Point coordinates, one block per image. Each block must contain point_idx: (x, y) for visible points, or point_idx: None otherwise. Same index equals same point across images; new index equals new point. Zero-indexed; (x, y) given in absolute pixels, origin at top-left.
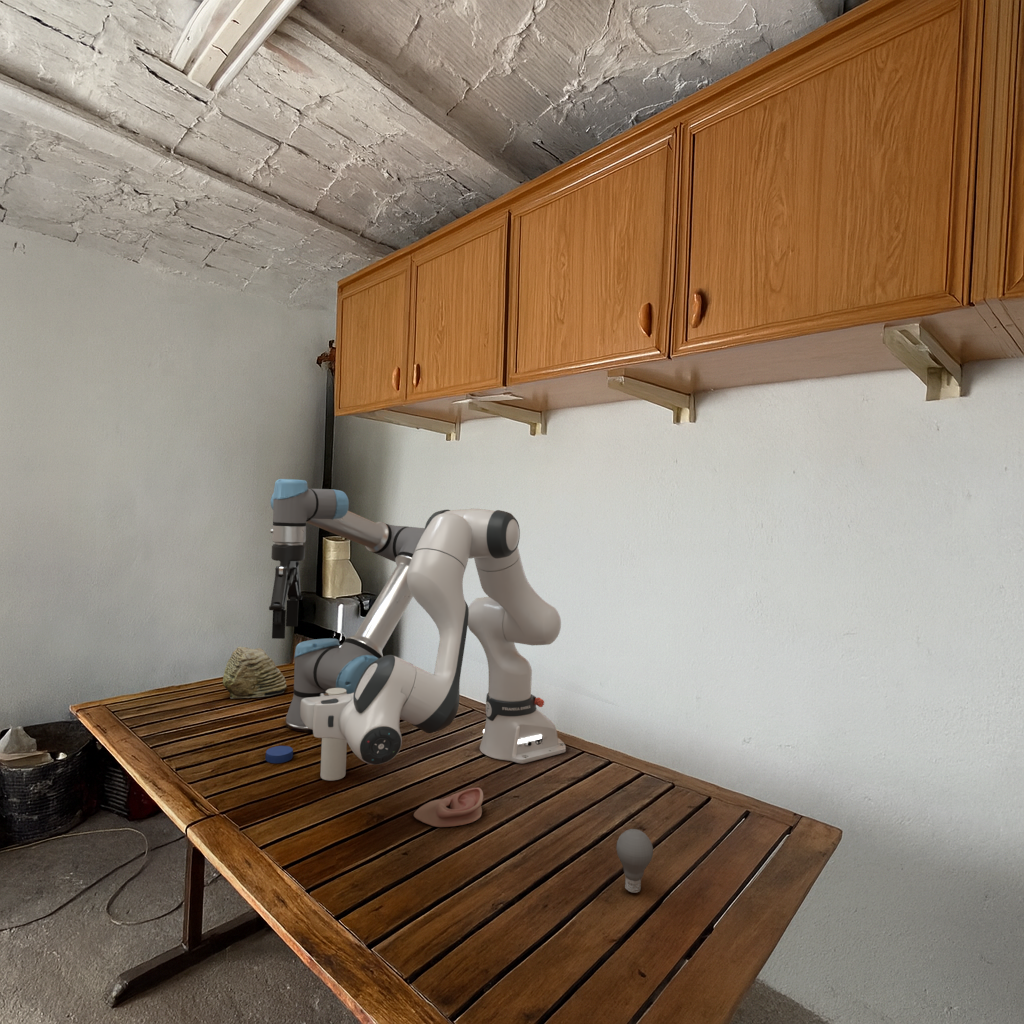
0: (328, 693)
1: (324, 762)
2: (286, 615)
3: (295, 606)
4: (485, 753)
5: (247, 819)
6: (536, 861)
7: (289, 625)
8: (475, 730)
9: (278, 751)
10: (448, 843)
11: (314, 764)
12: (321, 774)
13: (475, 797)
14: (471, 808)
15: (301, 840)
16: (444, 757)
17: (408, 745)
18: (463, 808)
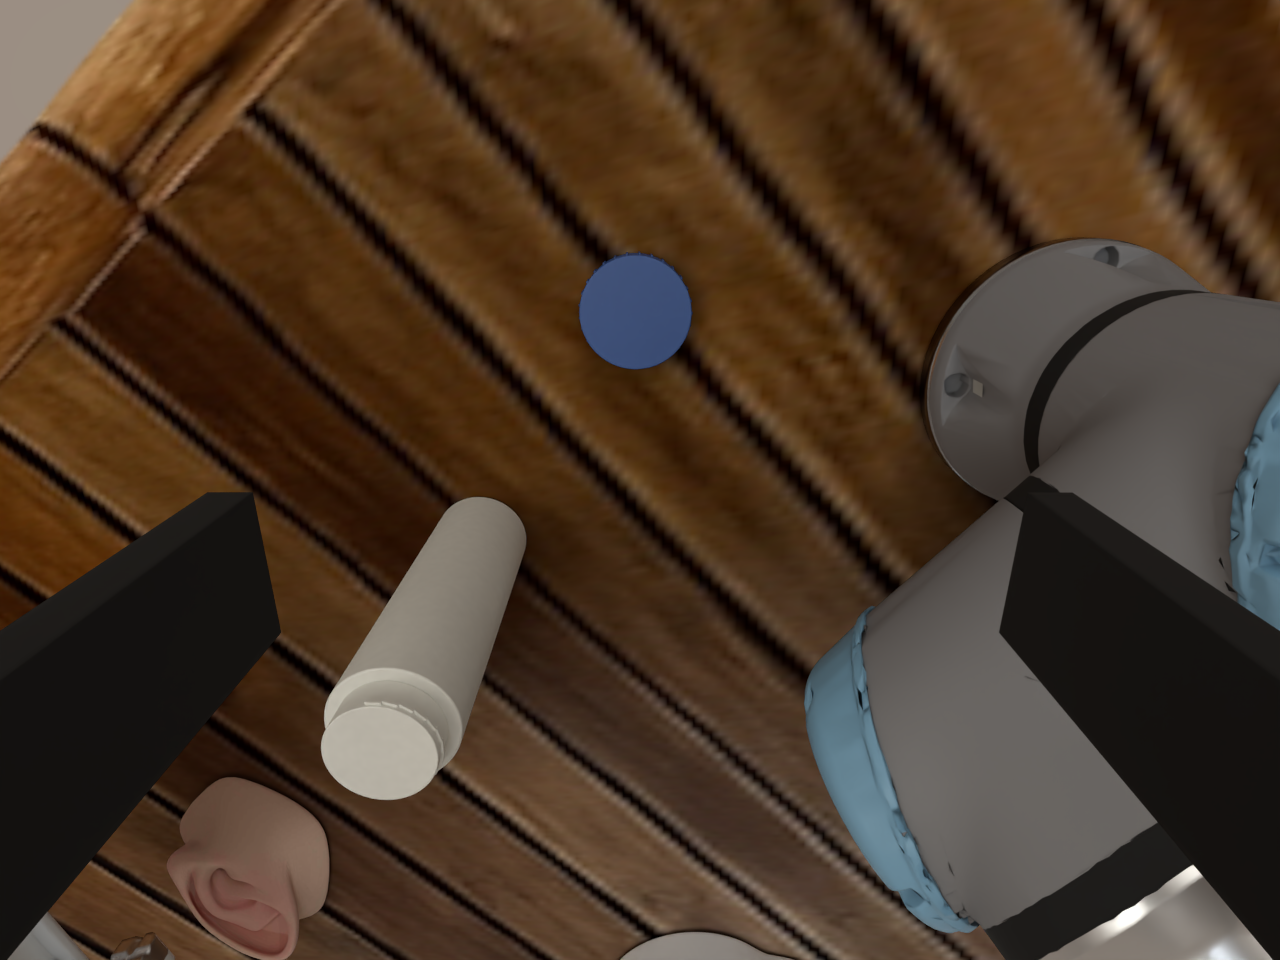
0: (331, 721)
1: (427, 540)
2: (1130, 573)
3: (1214, 838)
4: (645, 946)
5: (123, 325)
6: None
7: (1022, 546)
8: (866, 926)
9: (624, 311)
10: (118, 844)
11: (576, 458)
12: (451, 508)
13: (275, 932)
14: (203, 924)
15: (42, 516)
16: (637, 842)
17: (745, 744)
18: (205, 906)
